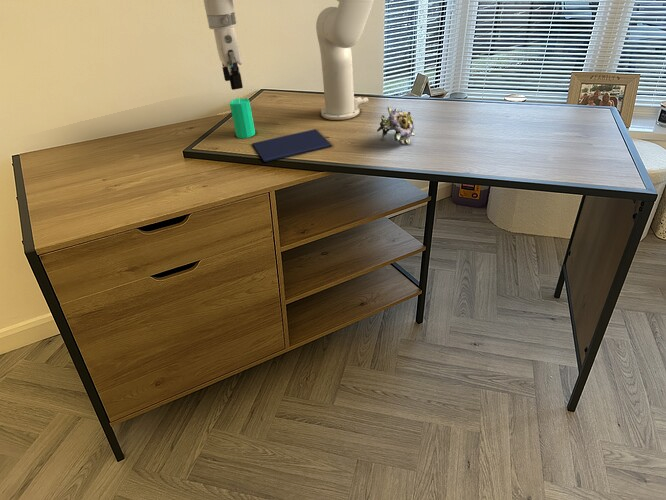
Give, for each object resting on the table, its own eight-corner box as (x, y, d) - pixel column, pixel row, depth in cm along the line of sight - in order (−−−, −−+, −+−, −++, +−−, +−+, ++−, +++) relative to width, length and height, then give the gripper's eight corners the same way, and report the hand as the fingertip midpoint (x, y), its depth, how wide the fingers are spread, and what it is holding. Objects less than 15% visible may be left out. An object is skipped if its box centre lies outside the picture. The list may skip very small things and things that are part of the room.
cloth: (315, 130, 148) (315, 128, 148) (331, 146, 137) (331, 144, 137) (252, 144, 143) (252, 142, 143) (264, 162, 132) (264, 160, 132)
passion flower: (406, 161, 138) (406, 139, 127) (371, 150, 141) (367, 128, 129) (419, 128, 140) (420, 104, 129) (384, 118, 143) (382, 94, 132)
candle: (251, 138, 147) (244, 99, 140) (233, 138, 148) (225, 99, 141) (258, 130, 152) (251, 92, 145) (240, 130, 153) (232, 92, 146)
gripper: (242, 23, 125) (253, 90, 135) (229, 14, 138) (239, 75, 148) (213, 28, 123) (226, 94, 133) (203, 17, 136) (215, 79, 146)
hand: (233, 84), depth 141 cm, fingers open, 9 cm apart
